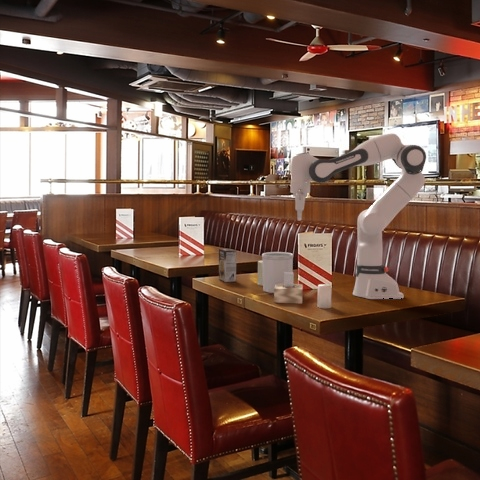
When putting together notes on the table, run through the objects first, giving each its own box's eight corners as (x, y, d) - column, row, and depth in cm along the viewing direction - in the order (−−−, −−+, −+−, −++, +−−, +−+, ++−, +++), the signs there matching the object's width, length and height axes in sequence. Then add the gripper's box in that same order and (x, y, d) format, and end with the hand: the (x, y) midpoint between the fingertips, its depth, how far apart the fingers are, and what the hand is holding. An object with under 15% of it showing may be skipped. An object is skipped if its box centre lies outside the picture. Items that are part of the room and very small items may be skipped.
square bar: (293, 299, 241) (293, 272, 240) (292, 301, 237) (293, 273, 236) (283, 298, 242) (284, 271, 240) (283, 300, 238) (284, 273, 236)
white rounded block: (330, 305, 229) (331, 284, 228) (331, 308, 224) (331, 286, 223) (317, 305, 230) (317, 283, 229) (317, 308, 224) (317, 286, 223)
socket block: (302, 297, 245) (302, 284, 244) (302, 303, 233) (302, 289, 232) (275, 296, 246) (275, 283, 245) (273, 302, 234) (274, 288, 233)
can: (276, 286, 271) (276, 262, 269) (257, 285, 271) (257, 261, 270) (275, 282, 280) (275, 259, 279) (257, 282, 280) (257, 259, 279)
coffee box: (218, 279, 288) (218, 248, 287) (229, 278, 291) (229, 248, 289) (225, 282, 280) (225, 250, 278) (236, 281, 283) (236, 250, 281)
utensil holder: (265, 294, 251) (266, 256, 249) (258, 287, 266) (258, 252, 264) (296, 293, 254) (297, 255, 252) (287, 287, 269) (288, 251, 267)
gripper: (307, 189, 237) (306, 221, 238) (307, 188, 257) (306, 218, 259) (292, 189, 238) (292, 221, 239) (293, 188, 258) (293, 218, 259)
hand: (299, 219), depth 249 cm, fingers open, 8 cm apart
